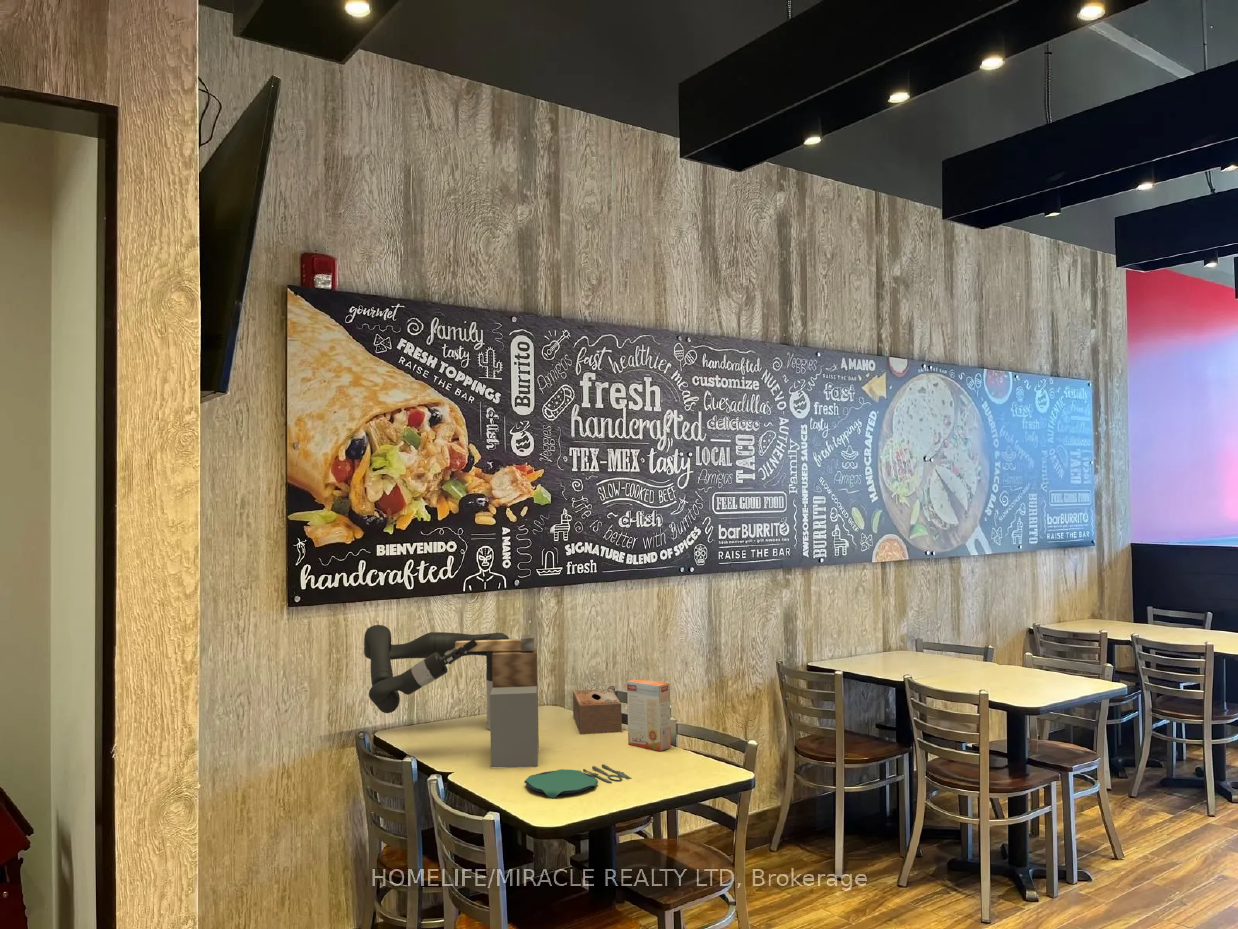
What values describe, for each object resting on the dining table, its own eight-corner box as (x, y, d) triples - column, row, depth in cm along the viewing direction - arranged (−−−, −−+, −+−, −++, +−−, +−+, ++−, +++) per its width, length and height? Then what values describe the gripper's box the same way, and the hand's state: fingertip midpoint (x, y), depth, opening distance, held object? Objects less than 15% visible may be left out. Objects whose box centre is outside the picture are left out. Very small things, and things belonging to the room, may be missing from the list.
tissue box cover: (621, 732, 311) (621, 703, 311) (580, 735, 309) (579, 705, 309) (611, 715, 336) (611, 688, 337) (573, 717, 334) (572, 690, 334)
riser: (493, 757, 283) (492, 654, 284) (495, 748, 293) (494, 649, 294) (538, 755, 284) (536, 653, 285) (538, 746, 294) (537, 648, 295)
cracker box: (672, 748, 289) (670, 682, 290) (660, 752, 285) (658, 685, 286) (639, 741, 299) (638, 677, 300) (627, 744, 294) (626, 680, 295)
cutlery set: (513, 784, 255) (513, 776, 255) (601, 767, 272) (601, 759, 272) (547, 804, 239) (547, 795, 239) (639, 784, 255) (639, 776, 255)
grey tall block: (490, 768, 271) (489, 694, 272) (493, 758, 281) (492, 687, 282) (537, 766, 272) (536, 693, 273) (538, 757, 282) (536, 686, 283)
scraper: (454, 653, 284) (454, 640, 285) (457, 649, 292) (456, 636, 293) (533, 650, 286) (533, 638, 286) (534, 646, 294) (533, 634, 294)
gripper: (438, 675, 295) (483, 647, 296) (432, 684, 281) (480, 654, 282) (426, 656, 295) (472, 628, 296) (420, 663, 281) (468, 634, 282)
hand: (475, 641), depth 289 cm, fingers closed on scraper, 3 cm apart
